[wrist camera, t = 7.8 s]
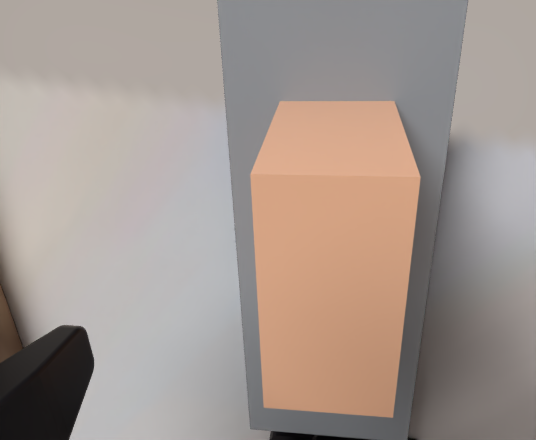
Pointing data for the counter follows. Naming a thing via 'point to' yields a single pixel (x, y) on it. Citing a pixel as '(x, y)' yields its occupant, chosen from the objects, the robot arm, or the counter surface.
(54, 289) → the counter surface
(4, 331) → the board
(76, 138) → the counter surface
